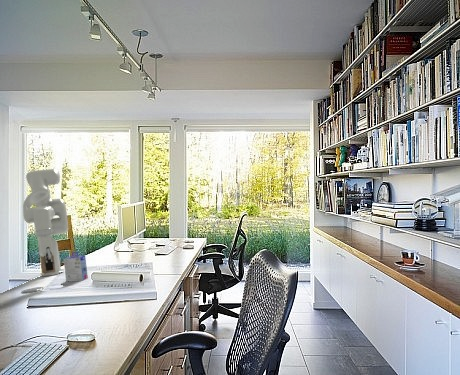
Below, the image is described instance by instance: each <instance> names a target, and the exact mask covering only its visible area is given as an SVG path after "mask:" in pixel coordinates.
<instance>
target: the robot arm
mask: <svg viewBox="0 0 460 375" xmlns="http://www.w3.org/2000/svg"><path fill="white" fill-rule="evenodd" d="M25 178H26V182H27V184H28V186H29V188H30V191H31V193H29V194H28V195H27V197H26V198H25V199H24V201H23V204H22V214H23V220H24V221H25V223H28V224H34V225H33V226H34V231H35V233H34V234H35V237H36V238H37V245H38V247H37V248H38V255H39V256H40V257H41V256H42V257H44V256H45V260H46V263H45V264H46V271H49V270H53V262H52V257H51V256H52V255H53V257H54V264H55V272H50V273H43V272H41V273H40V276H41V277H51V276H55V275H59V273H60V274H62V273H64V272H65V269H62V267H61V260H60V253H59V244H58V241H57V240H56V238H54V237H53V236H55V235H62V234H66V233H68V231H69V219H68V212H67V207H66V202H65V201H64V199H62V198H54V199H53V198H52V197H51V191H50V189H49V186H50V185H59V183H60V182H61V181H60V180H61V175H60V171H59V170H58V169H57V168H51V169H50V168H49V169H39V170H33V171H29V172H27V173H26V175H25ZM32 206H33V207H32ZM34 206H35V207H34ZM55 216H58V217H55ZM46 255H48V256H46ZM47 257H48V258H47ZM63 271H64V272H63ZM61 272H62V273H61Z"/></svg>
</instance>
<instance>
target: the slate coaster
mask: <svg viewBox="0 0 460 375" xmlns="http://www.w3.org/2000/svg"><path fill="white" fill-rule="evenodd" d="M43 287H44V286H38V287H31V288H26V289H24V290H21V293H20V294H25V295H26V294H31V293H37V292H39V291H40V290H42V289H44V288H43Z"/></svg>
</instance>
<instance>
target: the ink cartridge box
mask: <svg viewBox="0 0 460 375" xmlns="http://www.w3.org/2000/svg"><path fill="white" fill-rule="evenodd" d="M63 266H64V274H65V281H67V282H66V283H69V282H81V281H84V280H88V279H89V277H88V276H89V275H88V269H87V268H88V266H87V259H86V255H85V254H84V255H79V251H71V256H67V257H65V258H63ZM68 281H69V282H68Z"/></svg>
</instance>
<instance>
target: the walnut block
mask: <svg viewBox="0 0 460 375" xmlns="http://www.w3.org/2000/svg"><path fill="white" fill-rule="evenodd" d="M46 256H48V255H46ZM51 257H52V262H53V270H49V271H46V264H45V263H46V260H45V256H44V257H42V256H40V262H41V270H42V273H50V272H55V264H54V257H53V255H52V256H51ZM47 258H48V257H47Z"/></svg>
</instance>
